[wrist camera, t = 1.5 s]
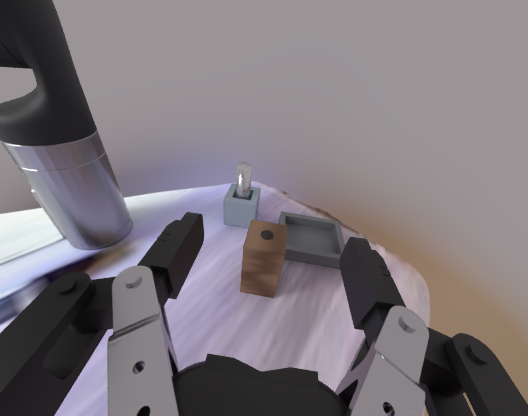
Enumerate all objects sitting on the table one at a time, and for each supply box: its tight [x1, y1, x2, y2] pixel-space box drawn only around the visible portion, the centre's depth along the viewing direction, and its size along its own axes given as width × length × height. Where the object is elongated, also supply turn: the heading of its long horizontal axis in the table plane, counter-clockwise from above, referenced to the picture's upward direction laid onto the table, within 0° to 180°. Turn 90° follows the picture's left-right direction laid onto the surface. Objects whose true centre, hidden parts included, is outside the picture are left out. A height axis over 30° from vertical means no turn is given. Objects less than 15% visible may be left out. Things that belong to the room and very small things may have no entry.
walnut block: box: [240, 219, 287, 298], centre depth 29 cm, size 5×5×10 cm
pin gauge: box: [236, 162, 252, 200], centre depth 40 cm, size 3×3×12 cm
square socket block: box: [224, 184, 261, 228], centre depth 41 cm, size 6×6×6 cm
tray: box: [279, 212, 345, 269], centre depth 39 cm, size 12×10×2 cm
